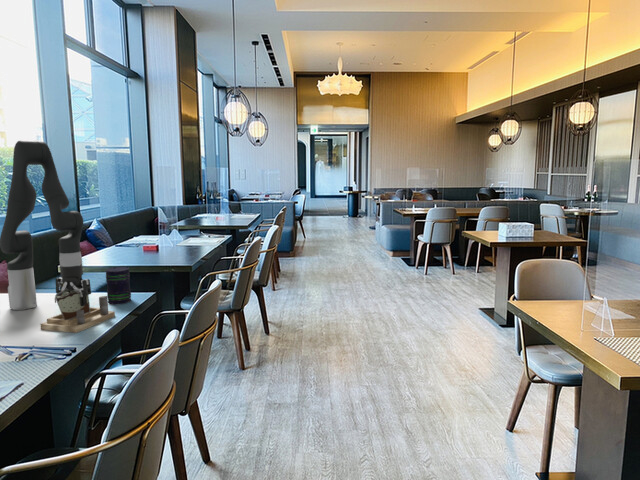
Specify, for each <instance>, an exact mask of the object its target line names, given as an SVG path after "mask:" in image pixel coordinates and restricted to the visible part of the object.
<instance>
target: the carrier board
mask: <svg viewBox="0 0 640 480" xmlns="http://www.w3.org/2000/svg"><path fill="white" fill-rule="evenodd" d="M98 302H99V307H92V306H90V312H89V313H86V314H84V310H77V311H76V312H77V317H75V318H72V319H70V320H64V319H63V316H62V314H61V313H59V314H56V315H53V316H51V317H48V318H46V321H44V322H41V323H40V324H39V325H40V329H41V330H46V331H55V332H56V331H57V332H65V333H75V334H77V333H79V332H82V331H84V330H87V329H89V328H92V327H93V326H96V325H98V324H100V323H103V322H105V321H107V320H110V319H112V318H115V317H116V311H114V310H113V311H112V310H109V304H108V298H107V295H101V296H98Z"/></svg>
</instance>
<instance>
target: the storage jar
mask: <svg viewBox="0 0 640 480" xmlns="http://www.w3.org/2000/svg"><path fill="white" fill-rule="evenodd" d="M130 274H131V273H130V267H127V266H115V267H109V268H106V269H105V282H106V284H107V291H106V293H107V295H106V296H107V299H108V303H109V304H108V305H125V304H128V303H130V302H132V298H131V297H132V291H131V286H130V280H131V278H130V277H131V275H130Z"/></svg>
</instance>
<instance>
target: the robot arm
mask: <svg viewBox="0 0 640 480" xmlns="http://www.w3.org/2000/svg"><path fill="white" fill-rule="evenodd" d="M13 147H14V149H13V159H12V160H13V161H12V175H11V181H10V188H9V192H8V193H9V194H8V196H7V197H8V198H7V206H6V214H5V218H4V222H3V224H2V225H3V226H2V228H1V229H2V230H1V232H0V250H1V252H2V253H4V254H6V255H11V254H18V253H19V254H18V256H17V257H16V258H14V259H13V260H10V261H9V262H7V264H6V268H7V275H8V276H7V277H8V286H7V294H8V302H9V305H8V306H9V309H11V310H13V311H23V310H24V311H25V310H29V309H33V308H36V307H37V306H38V304H37V293H36V292H37V291H36V283H35V273H34V244H33V243H34V242H33V241H34V240H33V237H32V234H31V232H30V231H28V230H18V229H19V227H20V225H21V224H22V223H23V222H24V221H25V220H26V219H27V218H29V216H30V215H31V214H32V213H33V212H34V209H35V207H36V202H37V201H36V200H37V195H38V194H37V191H36V189H35V187H34V185H33V184H32V182H31V181H30V179H29V178H28V167H29V166H38V165H39V166H41V167H42V169H43V171H44V176H43V180H42V183H41V193H42V195H43V197H44V199H45V202H46V204H47V205H48V209H49V216H50V222H51V223H50V224H51V226H52V227H53V228H54V229H55V230H56V231H58V232H64V231H68V234H66V235H65V236H62V237H60V238H59V239H58V250H59V257H58V259H59V261H58V262H59V270H60V272H59V273H60V277H56V278H55V280H54V281H55V282H54V283H55V293H56V294H57V293H59V292H61V291H66V290H67V289H68V290H75V291H76V292H77V293H78V294H79V295H80V296H81V297H80V304H81V306H86V304H87V295H88V296H89V295H91V294H92V289H91V288H92V287H91V280H90V279H89V278H87V279H83V275H84V270H83V268H84V267H83V258H82V257H83V256H82V252H81V237H82V231H83V226H84V217H83V214H81V213H80V212H79V211H77V210H71V211H62V210H65V209H67V208H68V207H69V206H70V201H69V198H68V197H67V194H66V192H65V190H64V188H63V186H62V184H61V181H60V178H59V175H58V172H57V169H56V165H55V161H54V158H53V155H52V152H51V149H50V146H48V144H47V143H46V142H45V141H42V140H23V139H21V140H18V141H16V142H15V145H14V146H13ZM63 284H64V285H63ZM79 288H81V289H79ZM81 291H83V293H82V292H81ZM87 291H88V292H87Z"/></svg>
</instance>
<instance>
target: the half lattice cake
mask: <svg viewBox="0 0 640 480" xmlns="http://www.w3.org/2000/svg"><path fill="white" fill-rule="evenodd" d="M79 289H81V288H79ZM81 292H82V293H83V291H81ZM87 292H88V291H87ZM80 297H81V296H80V295H79V294H78V293H77V292H76V291H75V290H68V289H67V290H66V291H61V292H59V293H56V294H55V296H54V303H55V304H56V303H57V306H58V308H59V310H60V314H62V316H63V319H64V320H70V319H72V318H75V317H77V312H76V311H77V310H84V314H86V313H89V312H90V307H91V306H90V299H89V298H90V297H89V295H87V304H86V306H81V304H80Z"/></svg>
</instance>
